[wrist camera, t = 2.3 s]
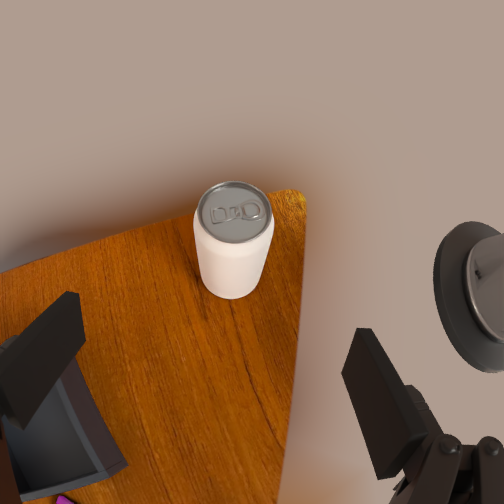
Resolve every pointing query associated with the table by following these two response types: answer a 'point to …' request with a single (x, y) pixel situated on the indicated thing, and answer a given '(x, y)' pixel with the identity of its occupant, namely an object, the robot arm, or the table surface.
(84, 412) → the tray
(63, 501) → the smartphone
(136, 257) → the table surface
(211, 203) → the can
